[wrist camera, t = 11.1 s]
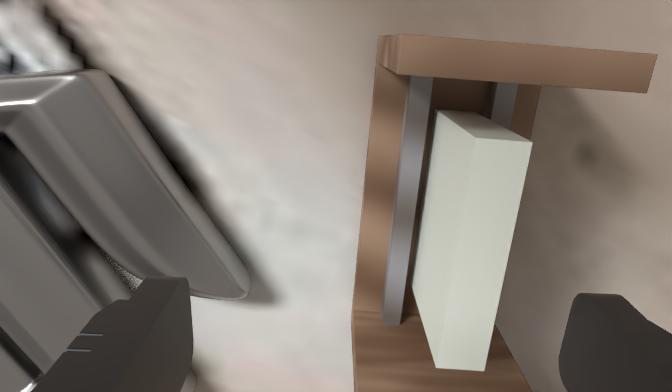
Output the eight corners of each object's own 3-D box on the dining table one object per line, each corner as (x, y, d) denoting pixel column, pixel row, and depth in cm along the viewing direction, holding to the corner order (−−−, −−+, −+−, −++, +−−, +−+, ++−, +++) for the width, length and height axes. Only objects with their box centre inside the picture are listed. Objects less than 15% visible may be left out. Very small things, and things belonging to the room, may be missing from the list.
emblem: (-279, 359, 30) (-209, -67, 22) (-190, 313, 35) (-108, -48, 28) (130, 515, 34) (308, 201, 27) (157, 454, 40) (313, 175, 32)
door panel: (434, 108, 29) (475, 138, 20) (480, 112, 29) (539, 142, 20) (410, 282, 33) (435, 367, 24) (450, 284, 33) (489, 371, 24)
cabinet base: (378, 36, 29) (402, 34, 18) (541, 48, 29) (657, 54, 18) (351, 320, 35) (356, 440, 24) (484, 329, 35) (546, 452, 25)
